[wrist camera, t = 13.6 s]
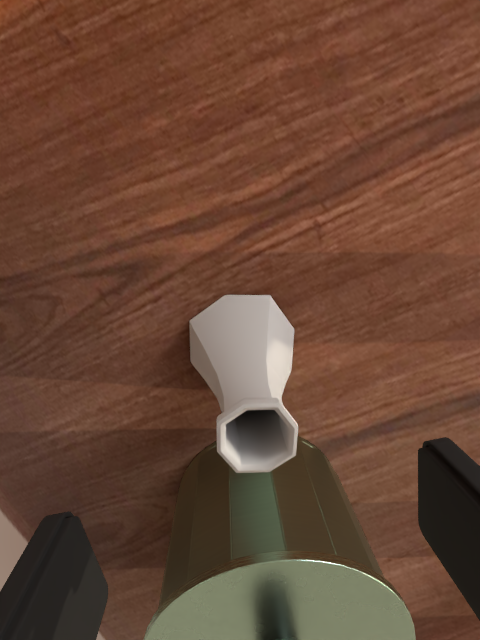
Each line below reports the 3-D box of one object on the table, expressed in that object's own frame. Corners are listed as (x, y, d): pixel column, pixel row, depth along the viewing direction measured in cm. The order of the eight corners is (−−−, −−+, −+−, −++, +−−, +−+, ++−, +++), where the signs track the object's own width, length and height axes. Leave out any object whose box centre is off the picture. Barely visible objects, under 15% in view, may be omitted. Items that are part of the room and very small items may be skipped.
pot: (196, 568, 27) (184, 741, 18) (160, 445, 23) (121, 585, 14) (342, 542, 27) (403, 702, 18) (329, 415, 23) (397, 535, 14)
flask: (208, 404, 23) (198, 535, 13) (171, 311, 21) (128, 385, 11) (306, 374, 22) (368, 486, 13) (279, 276, 20) (329, 323, 11)
